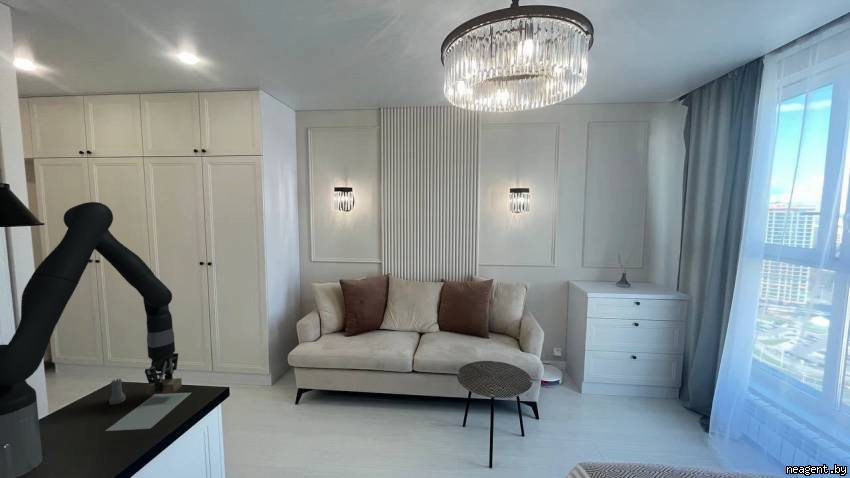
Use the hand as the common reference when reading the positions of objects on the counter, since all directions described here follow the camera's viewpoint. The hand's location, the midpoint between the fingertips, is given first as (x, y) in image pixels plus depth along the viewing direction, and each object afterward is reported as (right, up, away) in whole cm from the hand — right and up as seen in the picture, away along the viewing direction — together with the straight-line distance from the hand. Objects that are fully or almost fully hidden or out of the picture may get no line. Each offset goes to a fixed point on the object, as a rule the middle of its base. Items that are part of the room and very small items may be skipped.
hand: (164, 388), depth 119 cm
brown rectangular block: (0, -1, 0) cm, 1 cm away
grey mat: (+1, -5, -6) cm, 8 cm away
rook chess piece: (-16, -5, 0) cm, 17 cm away
